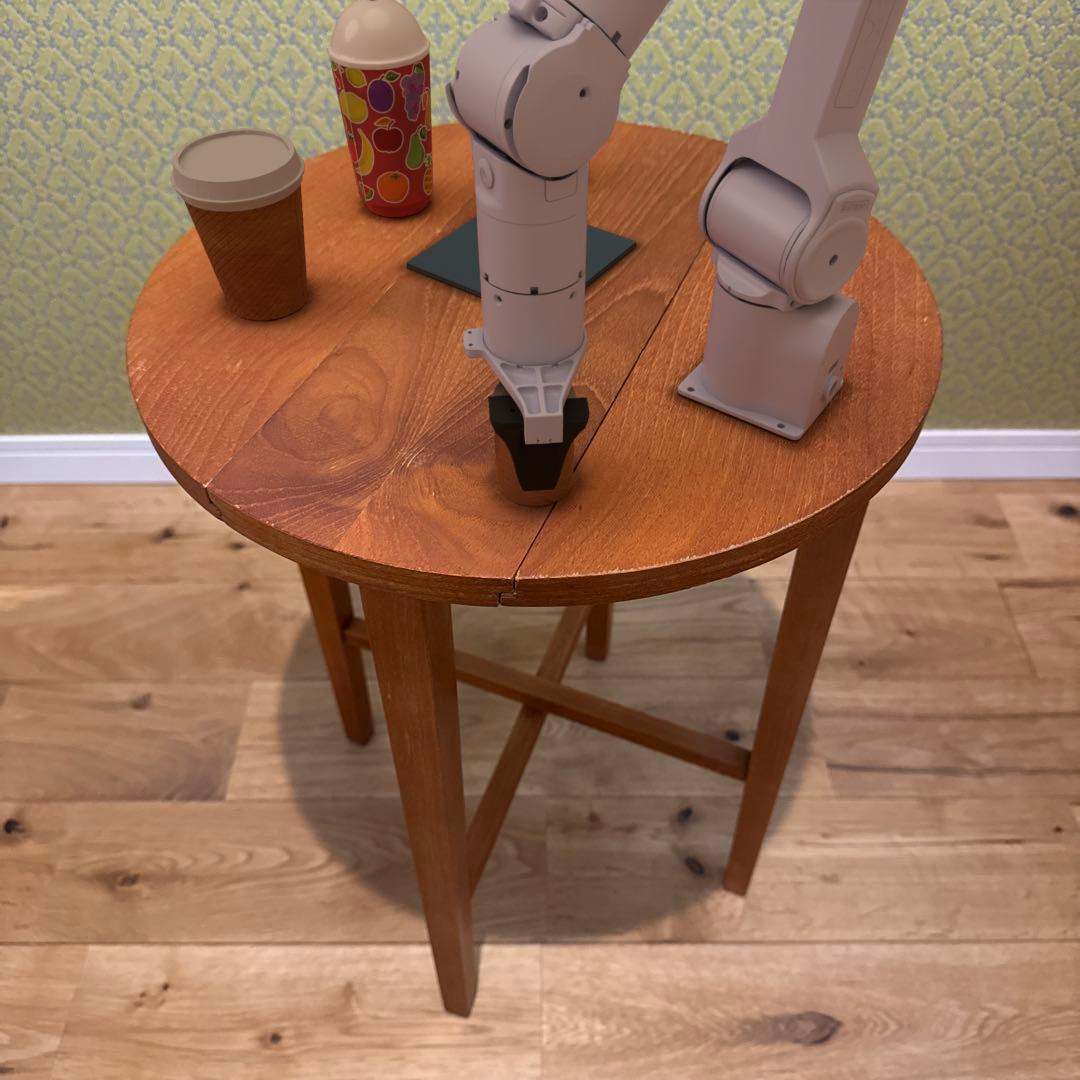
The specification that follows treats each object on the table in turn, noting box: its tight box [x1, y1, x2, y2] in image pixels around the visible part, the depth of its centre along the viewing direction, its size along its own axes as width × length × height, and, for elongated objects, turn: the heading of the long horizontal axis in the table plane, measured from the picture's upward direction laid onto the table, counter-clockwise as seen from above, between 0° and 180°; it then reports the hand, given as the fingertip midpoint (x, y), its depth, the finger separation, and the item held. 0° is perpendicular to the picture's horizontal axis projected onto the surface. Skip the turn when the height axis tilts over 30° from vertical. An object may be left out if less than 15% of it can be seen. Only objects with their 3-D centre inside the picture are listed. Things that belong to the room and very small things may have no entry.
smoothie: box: [326, 0, 434, 218], centre depth 82 cm, size 8×8×20 cm
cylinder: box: [492, 380, 577, 507], centre depth 61 cm, size 5×5×7 cm
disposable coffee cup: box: [170, 127, 309, 321], centre depth 74 cm, size 10×10×12 cm
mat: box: [405, 215, 637, 298], centre depth 82 cm, size 14×14×1 cm
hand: (534, 456), depth 62 cm, fingers closed on cylinder, 5 cm apart
